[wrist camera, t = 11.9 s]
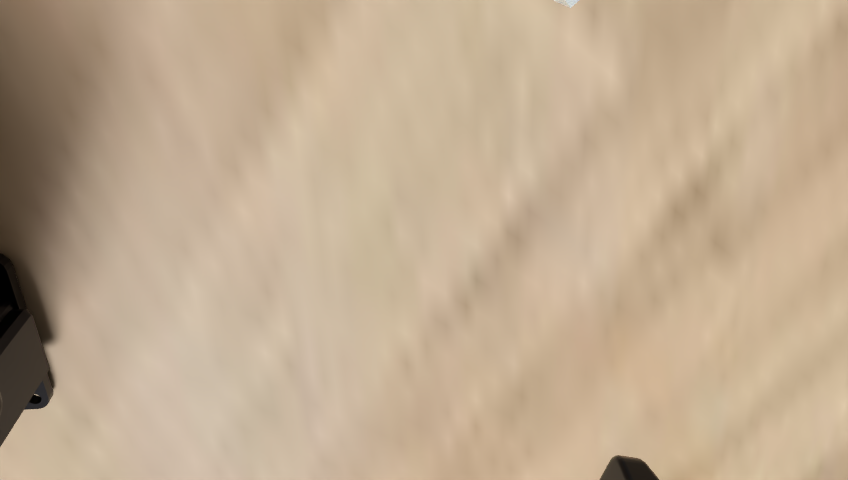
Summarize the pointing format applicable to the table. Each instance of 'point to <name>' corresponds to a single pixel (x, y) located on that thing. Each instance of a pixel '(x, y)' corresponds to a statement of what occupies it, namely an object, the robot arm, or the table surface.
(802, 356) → the table surface
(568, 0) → the pin dock
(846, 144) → the table surface
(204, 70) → the table surface
